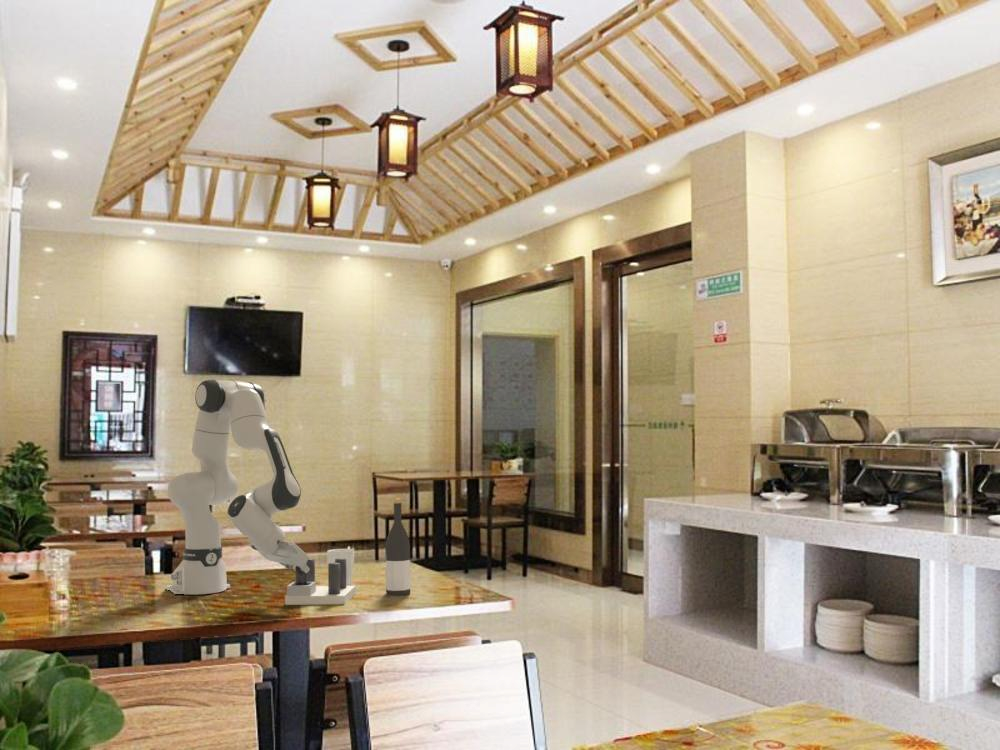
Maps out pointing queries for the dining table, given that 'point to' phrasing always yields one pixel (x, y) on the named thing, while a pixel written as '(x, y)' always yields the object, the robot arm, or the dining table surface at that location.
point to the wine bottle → (397, 556)
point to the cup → (349, 557)
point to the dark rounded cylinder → (300, 576)
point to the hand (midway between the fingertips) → (298, 569)
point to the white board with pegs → (322, 587)
